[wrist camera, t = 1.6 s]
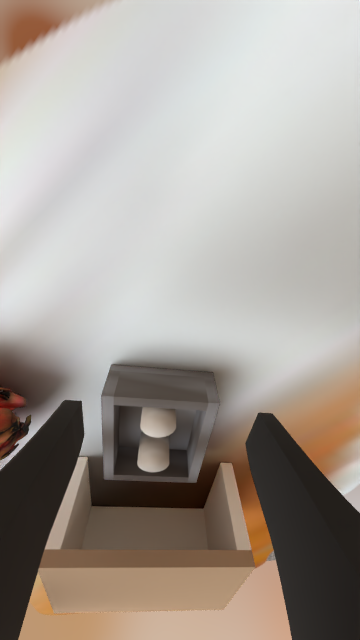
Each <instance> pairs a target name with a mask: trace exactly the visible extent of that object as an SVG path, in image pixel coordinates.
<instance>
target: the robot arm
mask: <svg viewBox="0 0 360 640" xmlns="http://www.w3.org/2000/svg"><path fill="white" fill-rule="evenodd" d="M83 438H84V424H83V412H82V401H72V400H65V401H63V402H62V403H61V405H60V406H59V407H58V408H57V410H56V411H55V412H54V413H53V414H52V415H51V417H50V418H49V419H48V420H47V421H46V422H45V424H44V425H43V426H42V427H41V428H40V429H39V430H38V432H37V433H36V434H35V435H34V436H33V437H32V438H31V439H30V440H29V441H28V442H27V443H26V445H25V446H24V447H23V448H22V449H21V450H20V451H19V452H18V453H17V454H16V455H15V456H14V457H13V458H12V459H11V460H10V461H9V462H8V463H7V464H6V465H5V466H4V467H3V468H2V469H1V470H0V640H18V638H19V635H20V631H21V627H22V624H23V620H24V617H25V614H26V610H27V607H28V603H29V600H30V596H31V593H32V589H33V586H34V583H35V579H36V576H37V573H38V569H39V566H40V563H41V559H42V556H43V553H44V549H45V546H46V543H47V541H48V538H49V535H50V532H51V529H52V527H53V524H54V521H55V519H56V516H57V514H58V511H59V508H60V506H61V503H62V501H63V498H64V495H65V493H66V490H67V488H68V485H69V482H70V480H71V477H72V474H73V472H74V469H75V466H76V464H77V460H78V457H79V453H80V450H81V446H82V442H83ZM246 449H247V455H248V460H249V465H250V470H251V474H252V477H253V481H254V484H255V487H256V491H257V494H258V497H259V501H260V504H261V507H262V511H263V514H264V517H265V521H266V524H267V527H268V530H269V534H270V537H271V541H272V545H273V549H274V553H275V557H276V562H277V566H278V571H279V576H280V580H281V585H282V590H283V595H284V599H285V605H286V610H287V614H288V620H289V625H290V631H291V636H292V640H360V513H359V512H358V511H357V510H356V509H355V508H354V507H353V506H352V505H351V504H350V503H349V502H348V501H347V500H346V499H345V498H344V497H343V495H342V494H341V493H340V492H339V491H338V490H337V489H336V488H335V487H334V486H333V485H332V484H331V482H330V481H329V480H328V479H327V478H326V477H325V476H324V475H323V474H322V472H321V471H320V470H319V469H318V468H317V467H316V466H315V464H314V463H313V462H312V461H311V460H310V459H309V457H308V456H307V455H306V454H305V453H304V451H303V450H302V449H301V448H300V447H299V445H298V444H297V443H296V442H295V441H294V439H293V438H292V437H291V436H290V434H289V433H288V432H287V431H286V430H285V428H284V427H283V426H282V425H281V423H280V422H279V421H278V420H277V418H276V417H275V416H274V415H273V414H271V413H258V415H257V417H256V420H255V422H254V424H253V427H252V429H251V431H250V434H249V436H248V439H247V441H246Z"/></svg>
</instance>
